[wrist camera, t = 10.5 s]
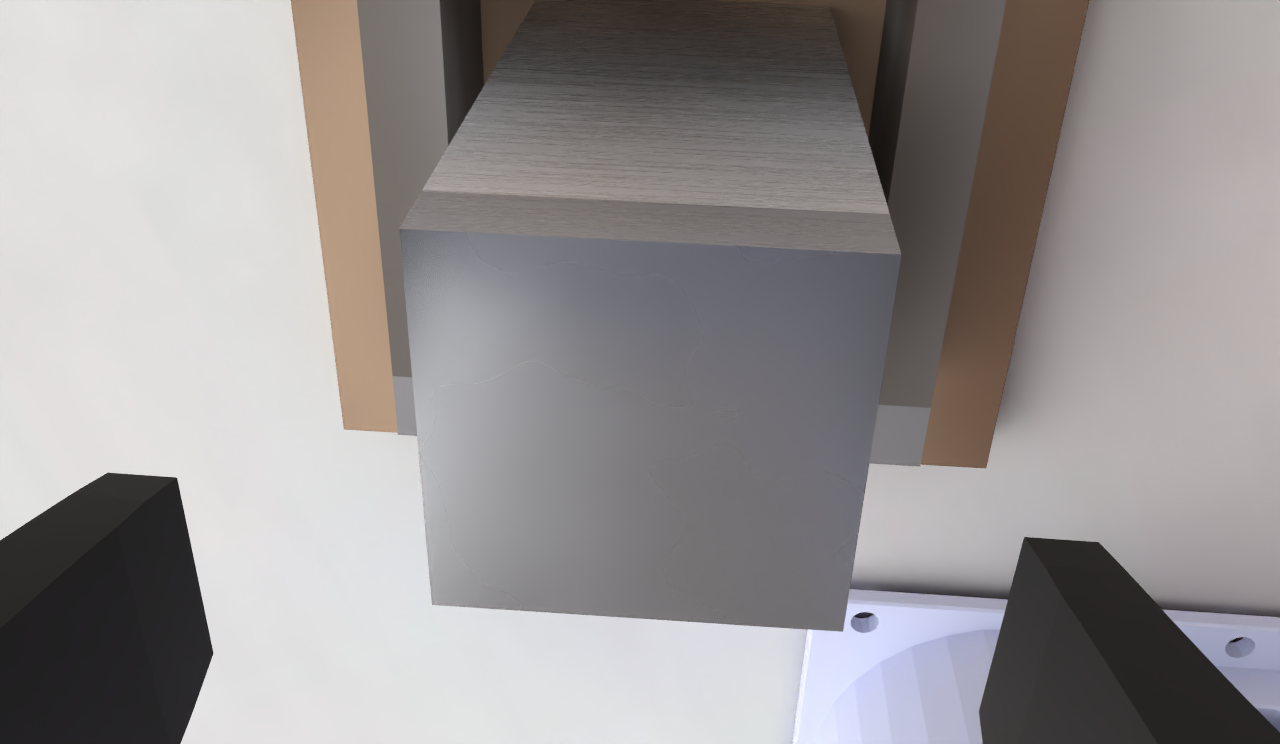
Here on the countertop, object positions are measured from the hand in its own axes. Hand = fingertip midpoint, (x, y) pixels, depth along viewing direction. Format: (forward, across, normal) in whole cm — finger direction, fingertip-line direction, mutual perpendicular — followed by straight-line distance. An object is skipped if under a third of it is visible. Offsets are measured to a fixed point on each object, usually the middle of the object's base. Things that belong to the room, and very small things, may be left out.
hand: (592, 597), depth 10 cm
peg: (+9, 0, -1) cm, 9 cm away
